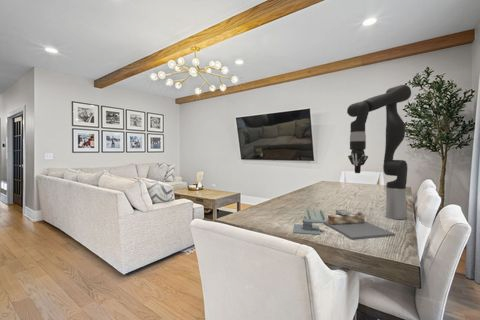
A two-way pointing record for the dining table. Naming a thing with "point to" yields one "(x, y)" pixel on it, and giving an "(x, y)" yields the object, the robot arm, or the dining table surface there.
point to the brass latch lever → (345, 219)
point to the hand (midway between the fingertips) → (357, 173)
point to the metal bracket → (315, 215)
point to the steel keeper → (342, 212)
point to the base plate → (360, 230)
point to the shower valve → (308, 227)
